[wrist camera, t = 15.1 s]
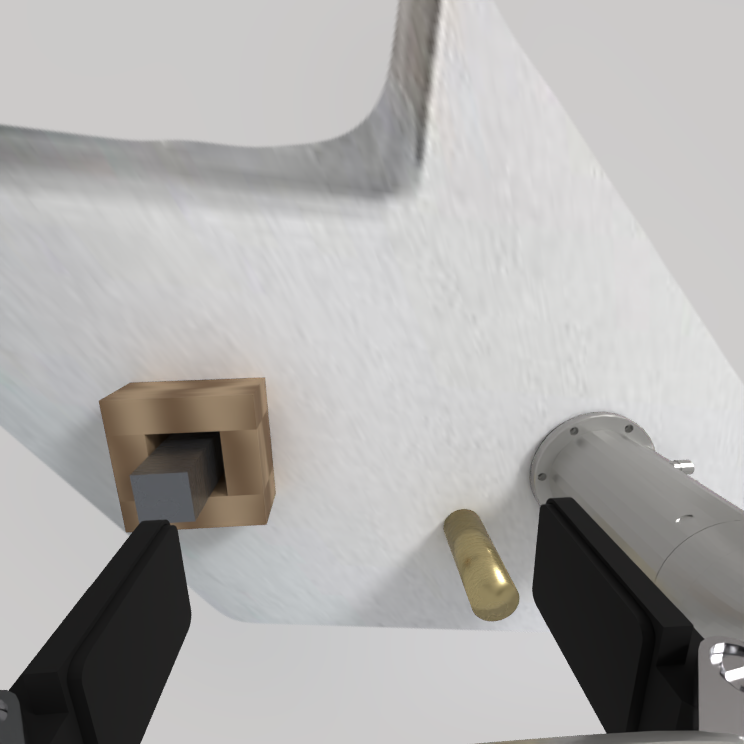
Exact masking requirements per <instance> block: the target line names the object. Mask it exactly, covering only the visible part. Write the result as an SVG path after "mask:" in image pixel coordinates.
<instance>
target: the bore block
mask: <svg viewBox="0 0 744 744" xmlns="http://www.w3.org/2000/svg"><path fill="white" fill-rule="evenodd" d="M99 404H100V409H101V414H102V419H103V424H104V429H105V433H106V438H107V443H108V448H109V453H110V458H111V462H112V467H113V472H114V477H115V482H116V487H117V491H118V496H119V501H120V506H121V511H122V516H123V520H124V525H125V530H126V532H133V531H134V530H135V529H136V527H137V526H138V525H139V520H138V515H137V510H136V505H135V500H134V495H133V490H132V486H131V481H130V476H129V475H130V474H131V473H132V472H133V471H134V470H135V469H136V468H137V467H138V466H139V465H140V464H141V463H142V462H143V461H144V460H145V459H146V458H147V457H148V456H149V455H150V454H151V453H152V452H153V451H154V450H155V449H156V448H157V447H158V446H159V445H160V444H161V443H162V442H163V441H164V440H165V439H166V438H167V437H168V436H169V435H170V434H171V433H189V432H211V431H220V438H221V446H222V454H223V461H224V469H225V471H224V472H223V474H222V476H221V478H220V479H219V481H218V483H217V485H216V486H215V488H214V490H213V492H212V493H211V495H210V497H209V499H208V500H207V502H206V504H205V506H204V507H203V509H202V511H201V513H200V514H199V516H198V518H197V520H196V521H194V522H178V523H170V525H175V526H176V527H177V530H178V529H196V528H213V527H231V526H249V525H266V524H267V521H268V518H269V514H270V511H271V508H272V504H273V501H274V498H275V494H276V491H275V481H274V470H273V459H272V449H271V438H270V428H269V417H268V406H267V396H266V385H265V378H242V379H216V380H190V381H164V382H138V383H129V384H127V385H126V386H124V387H122V388H120V389H119V390H117V391H115V392H114V393H112V394H110V395H108V396H107V397H105V398H103V399H101V400H100V401H99Z"/></svg>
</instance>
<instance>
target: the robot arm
mask: <svg viewBox="0 0 744 744" xmlns="http://www.w3.org/2000/svg"><path fill="white" fill-rule="evenodd" d="M693 472H694V465H693V463H692V462H691V461H690V460H674V461H670V460H668V459H667V458H665V457H663V456H662V455H660V454H659V453H657V452H655V448H654V445H653V443H652V441H651V439H650V437H649V436H648V434H647V433H646V432H645V430H644V429H643V428H641V427H640V426H639V425H638V424H636V423H635V422H633V421H631V420H630V419H628V418H626V417H624V416H621V415H618V414H615V413H608V412H592V413H587V414H583V415H579V416H577V417H574V418H572V419H570V420H568V421H566V422H565V423H563V424H561V425H560V426H558V427H557V428H556V429H555V430H554V431H552V432H551V433H550V434H549V435H548V436H547V438H546V439H545V440H544V441H543V442H542V444H541V445H540V447H539V449H538V451H537V452H536V454H535V457H534V460H533V463H532V467H531V474H530V478H531V487H532V491H533V494H534V496H535V498H536V500H537V502H538V504H539V505H540V506H541V507H540V513H539V524H538V534H537V545H536V555H535V566H534V576H533V587H532V592H533V598H534V601H535V604H536V606H537V608H538V609H539V611H540V613H541V615H542V617H543V618H544V620H545V622H546V624H547V626H548V628H549V629H550V631H551V633H552V635H553V637H554V638H555V640H556V642H557V644H558V646H559V648H560V649H561V651H562V653H563V655H564V657H565V658H566V660H567V662H568V664H569V666H570V668H571V669H572V671H573V673H574V675H575V677H576V678H577V680H578V682H579V684H580V686H581V687H582V689H583V691H584V693H585V695H586V697H587V698H588V700H589V702H590V704H591V706H592V708H593V709H594V711H595V713H596V715H597V716H598V718H599V720H600V722H601V724H602V726H603V727H604V729H605V731H606V733H607V734H593V735H577V736H565V737H552V738H540V739H527V740H514V741H502V742H490V743H477V744H744V511H743V510H742V509H740V508H739V507H737V506H735V505H734V504H732V503H731V502H729V501H727V500H726V499H724V498H723V497H721V496H720V495H718V494H716V493H715V492H713V491H712V490H710V489H709V488H707V487H705V486H704V485H702V484H701V483H699V482H698V481H697V480H694V479H693V478H691V477H690V476H688V475H687V474H692V473H693ZM190 622H191V607H190V602H189V595H188V589H187V583H186V577H185V572H184V566H183V560H182V554H181V548H180V542H179V536H178V530H177V527H176V526H175V525H170V522H169V521H168V520H166V519H164V520H146V521H142V522H141V523H140V524H139V525H138V526H137V527H136V529H135V530H134V531H133V532H132V534H131V535H130V536H129V538H128V539H127V540H126V541H125V543H124V544H123V545H122V547H121V548H120V549H119V551H118V552H117V553H116V554H115V556H114V557H113V558H112V560H111V561H110V562H109V563H108V565H107V566H106V567H105V568H104V570H103V571H102V572H101V574H100V575H99V576H98V578H97V579H96V580H95V581H94V582H93V584H92V585H91V586H90V587H89V588H88V589H87V591H86V592H85V593H84V595H83V596H82V597H81V598H80V600H79V601H78V602H77V604H76V605H75V606H74V607H73V609H72V610H71V611H70V613H69V614H68V615H67V616H66V618H65V619H64V620H63V622H62V623H61V624H60V625H59V627H58V628H57V629H56V631H55V632H54V633H53V634H52V636H51V637H50V638H49V639H48V641H47V642H46V644H45V645H44V646H43V647H42V649H41V650H40V651H39V652H38V654H37V655H36V656H35V657H34V659H33V660H32V661H31V663H30V664H29V665H28V666H27V668H26V669H25V670H24V672H23V673H22V674H21V675H20V677H19V678H18V679H17V681H16V682H15V683H14V684H13V686H12V687H11V688H10V689H9V691H8V690H0V744H140V743H141V741H142V738H143V736H144V734H145V731H146V729H147V726H148V724H149V722H150V719H151V717H152V715H153V712H154V710H155V708H156V705H157V703H158V701H159V698H160V696H161V693H162V691H163V689H164V686H165V684H166V682H167V679H168V677H169V675H170V672H171V670H172V667H173V665H174V663H175V660H176V658H177V656H178V653H179V651H180V649H181V646H182V644H183V641H184V639H185V637H186V634H187V632H188V630H189V627H190Z"/></svg>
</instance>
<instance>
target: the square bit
mask: <svg viewBox="0 0 744 744" xmlns="http://www.w3.org/2000/svg"><path fill="white" fill-rule="evenodd" d="M224 471H225V469H224V461H223V454H222V446H221V438H220V431H211V432H189V433H171V434H170V435H169V436H168V437H167V438H166V439H165V440H164V441H163V442H162V443H161V444H160V445H159V446H158V447H157V448H156V449H155V450H154V451H153V452H152V453H151V454H150V455H149V456H148V457H147V458H146V459H145V460H144V461H143V462H142V463H141V464H140V465H139V466H138V467H137V468H136V469H135V470H134V471H133V472H132V473H131V474H130V475H129V476H130V481H131V486H132V490H133V495H134V500H135V505H136V510H137V515H138V520H139V524H140V523H141V522H142V521H146V520H164V519H166V520H168V521H169V522H170V523H178V522H194V521H196V520H197V518H198V516H199V514H200V513H201V511H202V509H203V507H204V506H205V504H206V502H207V500H208V499H209V497H210V495H211V493H212V492H213V490H214V488H215V486H216V485H217V483H218V481H219V479H220V478H221V476H222V474H223V472H224Z"/></svg>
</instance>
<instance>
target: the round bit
mask: <svg viewBox="0 0 744 744" xmlns="http://www.w3.org/2000/svg"><path fill="white" fill-rule="evenodd" d="M444 532H445V535H446V538H447V541H448V544H449V546H450V549H451V552H452V555H453V557H454V560H455V563H456V566H457V568H458V571H459V574H460V577H461V579H462V582H463V585H464V588H465V591H466V593H467V596H468V599H469V602H470V604H471V607H472V610H473V612H474V613H475V615H476V616H477V617H479V618H481V619H483V620H486V621H498V620H502V619H504V618H506V617H508V616H510V615H511V614H512V613H513V612H514V611H515V610H516V608H517V606H518V604H519V594H518V591H517V589H516V587H515V585H514V583H513V581H512V580H511V578H510V576H509V574H508V572H507V570H506V568H505V566H504V564H503V562H502V560H501V558H500V556H499V554H498V552H497V551H496V549H495V547H494V545H493V543H492V541H491V539H490V537H489V535H488V533H487V531H486V529H485V527H484V525H483V523H482V522H481V520H480V518H479V516H478V515H477V514H476V513H475V512H473V511H471V510H467V509H462V510H457V511H455V512H453V513H451V514H450V515H449V516H448V517H447V518H446V520H445V522H444Z"/></svg>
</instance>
